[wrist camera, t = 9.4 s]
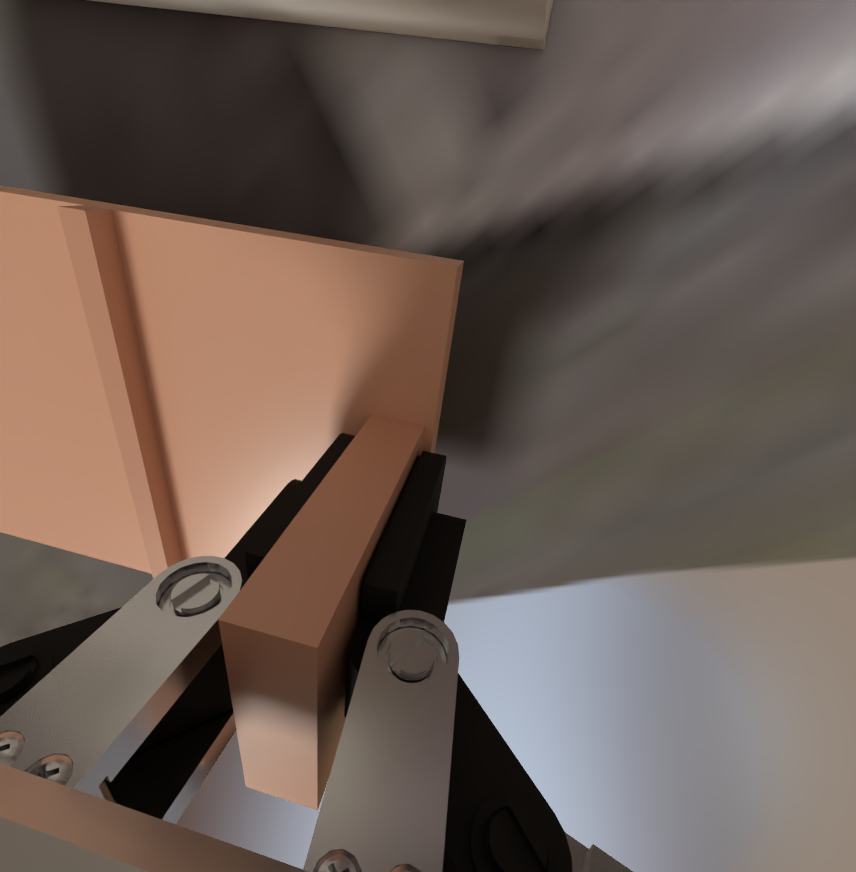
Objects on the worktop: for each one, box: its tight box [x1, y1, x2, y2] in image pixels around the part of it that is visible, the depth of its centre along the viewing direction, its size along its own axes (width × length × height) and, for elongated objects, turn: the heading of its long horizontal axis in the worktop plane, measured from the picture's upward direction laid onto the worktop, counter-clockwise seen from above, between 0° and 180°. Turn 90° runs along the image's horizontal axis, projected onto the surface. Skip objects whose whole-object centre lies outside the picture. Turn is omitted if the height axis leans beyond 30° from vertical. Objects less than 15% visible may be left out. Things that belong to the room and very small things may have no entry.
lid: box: [0, 185, 464, 810], centre depth 10 cm, size 11×15×6 cm
